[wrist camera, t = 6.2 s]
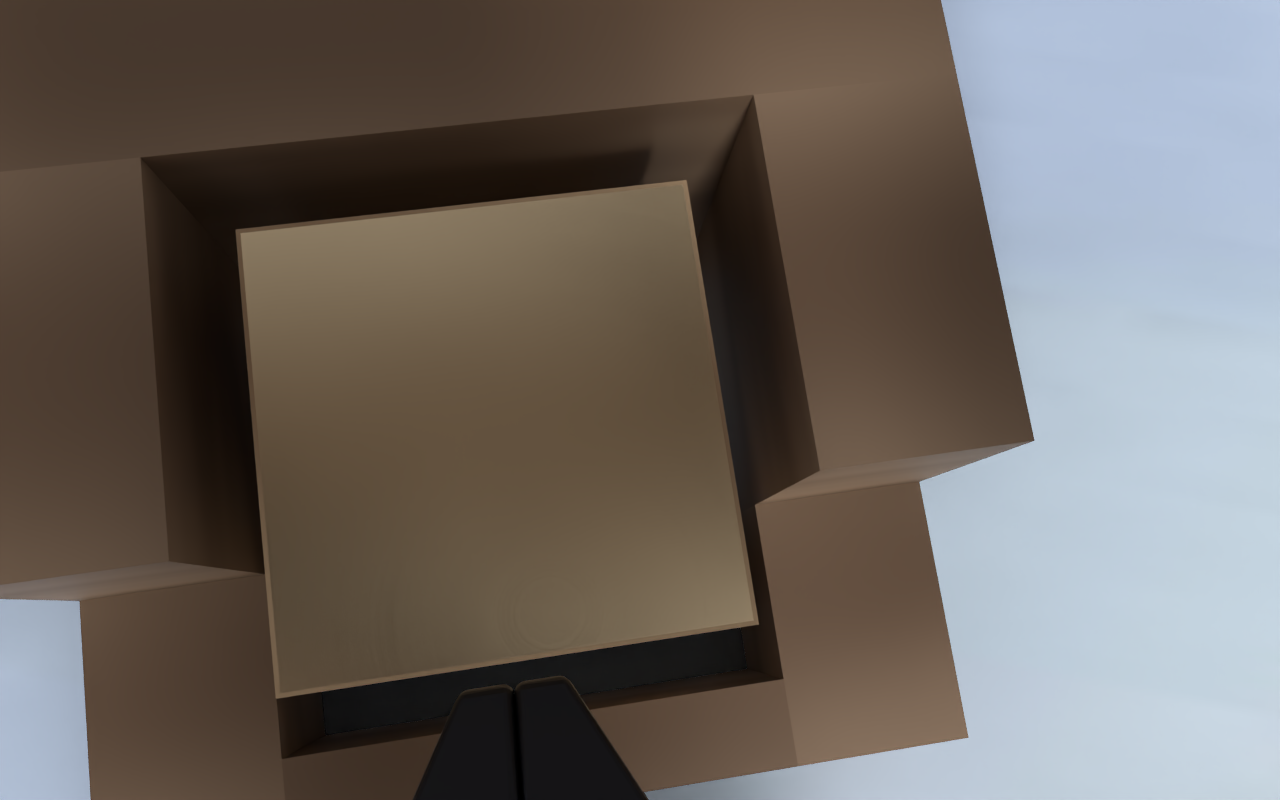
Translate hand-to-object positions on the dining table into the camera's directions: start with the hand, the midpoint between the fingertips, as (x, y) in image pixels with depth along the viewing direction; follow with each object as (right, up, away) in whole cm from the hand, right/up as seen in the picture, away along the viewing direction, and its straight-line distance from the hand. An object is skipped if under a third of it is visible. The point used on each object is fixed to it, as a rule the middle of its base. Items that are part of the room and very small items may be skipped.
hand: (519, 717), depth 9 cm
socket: (-1, +1, +10) cm, 10 cm away
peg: (-1, +1, +10) cm, 10 cm away
